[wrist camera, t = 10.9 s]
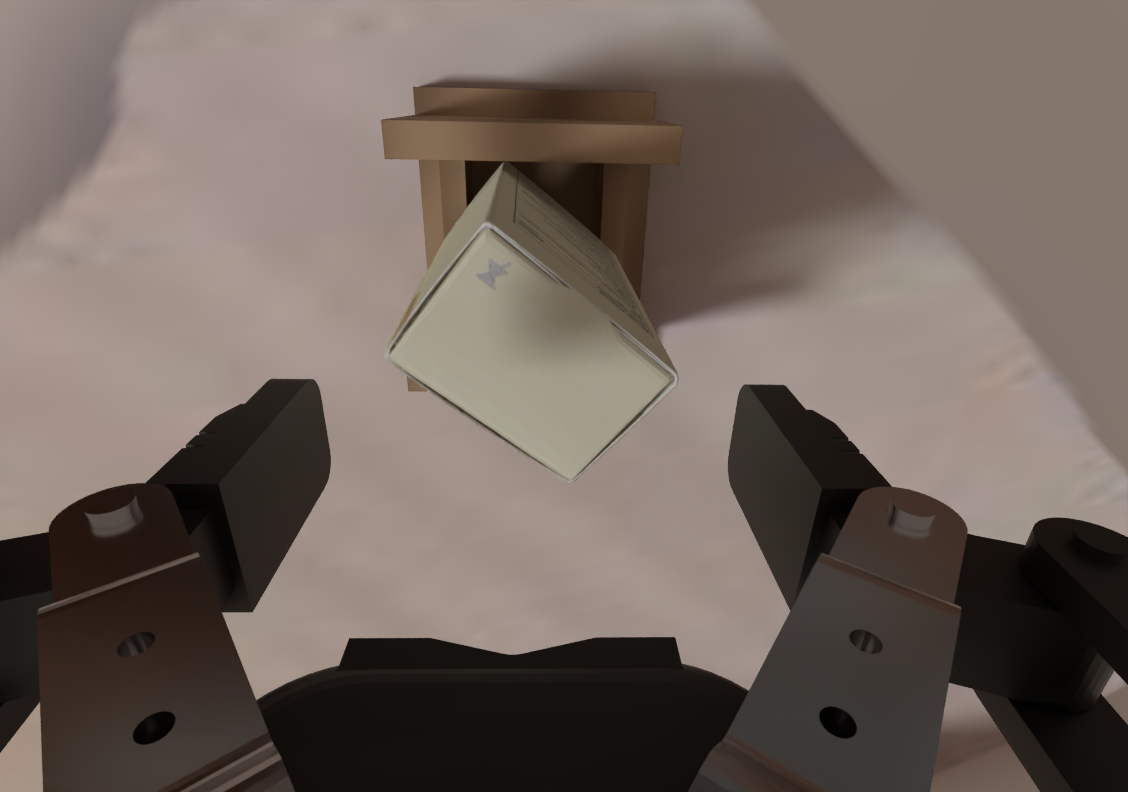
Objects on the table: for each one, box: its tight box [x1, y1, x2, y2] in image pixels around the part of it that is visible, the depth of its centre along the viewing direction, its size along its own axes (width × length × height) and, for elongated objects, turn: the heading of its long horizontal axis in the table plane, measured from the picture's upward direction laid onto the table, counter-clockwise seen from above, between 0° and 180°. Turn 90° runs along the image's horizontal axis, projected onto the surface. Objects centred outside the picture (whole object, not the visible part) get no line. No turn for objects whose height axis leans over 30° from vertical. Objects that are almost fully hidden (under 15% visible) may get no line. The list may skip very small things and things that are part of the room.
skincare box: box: [384, 161, 679, 483], centre depth 20 cm, size 6×4×12 cm
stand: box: [381, 87, 683, 391], centre depth 26 cm, size 10×12×7 cm
